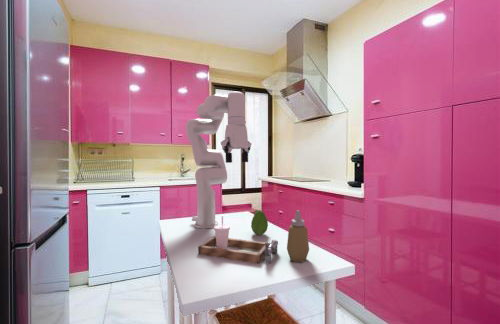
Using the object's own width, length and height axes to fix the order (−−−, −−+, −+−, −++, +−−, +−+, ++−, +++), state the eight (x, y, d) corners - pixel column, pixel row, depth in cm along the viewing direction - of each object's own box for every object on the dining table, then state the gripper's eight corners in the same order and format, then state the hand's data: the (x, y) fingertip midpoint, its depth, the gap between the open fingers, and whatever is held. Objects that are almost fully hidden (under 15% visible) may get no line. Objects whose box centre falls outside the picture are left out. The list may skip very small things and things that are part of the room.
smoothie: (217, 254, 97) (217, 218, 96) (211, 249, 102) (211, 215, 102) (232, 251, 100) (232, 216, 99) (226, 246, 105) (226, 213, 105)
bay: (198, 254, 97) (198, 246, 97) (214, 243, 109) (214, 236, 109) (259, 263, 89) (259, 255, 88) (269, 250, 101) (269, 243, 101)
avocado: (259, 238, 115) (259, 212, 115) (248, 234, 121) (247, 209, 121) (271, 234, 120) (271, 210, 120) (260, 231, 126) (259, 207, 126)
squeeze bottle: (304, 265, 87) (304, 214, 86) (283, 260, 91) (283, 211, 91) (312, 257, 94) (312, 209, 93) (291, 253, 98) (291, 207, 97)
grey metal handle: (263, 264, 88) (263, 242, 88) (272, 251, 99) (272, 232, 99) (269, 265, 87) (269, 243, 87) (278, 252, 99) (278, 232, 98)
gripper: (244, 124, 116) (244, 162, 116) (215, 121, 103) (215, 162, 103) (256, 123, 111) (257, 161, 111) (227, 118, 98) (228, 162, 98)
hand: (237, 162), depth 107 cm, fingers open, 9 cm apart
